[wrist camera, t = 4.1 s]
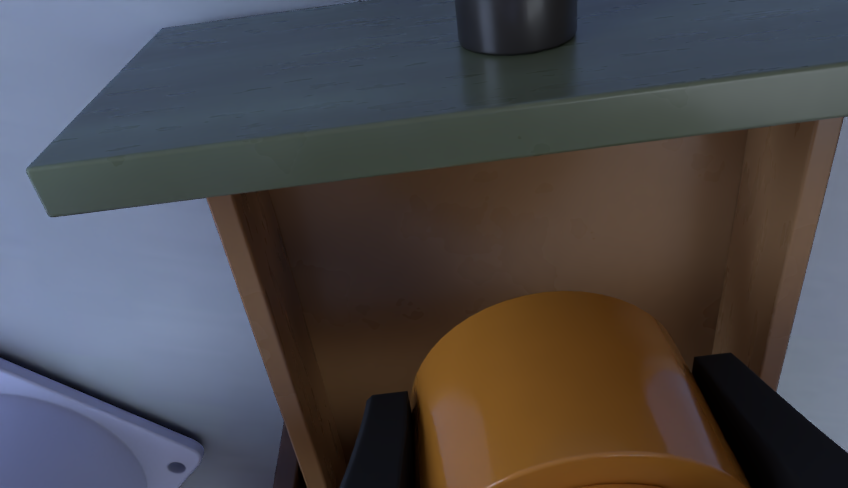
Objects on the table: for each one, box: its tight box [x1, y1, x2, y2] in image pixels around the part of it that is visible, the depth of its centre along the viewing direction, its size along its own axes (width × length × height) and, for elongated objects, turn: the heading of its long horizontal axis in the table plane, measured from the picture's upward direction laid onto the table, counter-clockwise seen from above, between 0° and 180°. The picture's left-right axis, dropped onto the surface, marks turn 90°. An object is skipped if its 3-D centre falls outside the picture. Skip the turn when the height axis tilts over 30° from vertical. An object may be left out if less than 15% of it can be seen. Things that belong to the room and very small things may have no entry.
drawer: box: [26, 0, 848, 488], centre depth 15 cm, size 16×13×6 cm
